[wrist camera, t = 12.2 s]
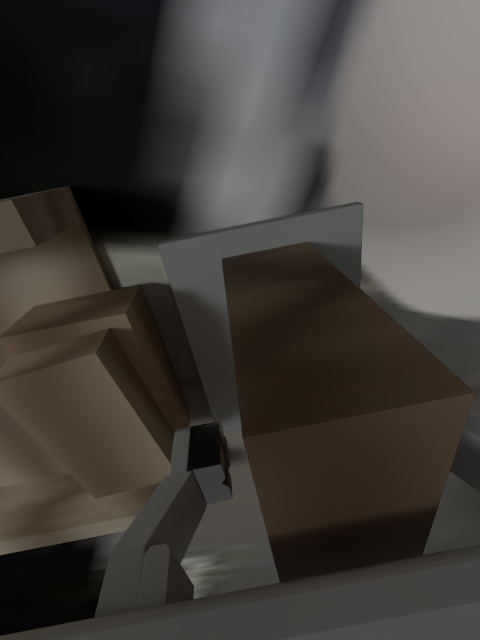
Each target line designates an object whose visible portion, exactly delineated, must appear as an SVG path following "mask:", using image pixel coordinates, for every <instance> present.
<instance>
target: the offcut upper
mask: <svg viewBox="0 0 480 640" xmlns="http://www.w3.org/2000/svg"><path fill="white" fill-rule="evenodd" d="M0 405H1V406H2V407H3V408H4V409H5V410H6V411H7V412H8V413H9V414H10V415H11V416H12V417H13V418H14V419H15V420H16V421H17V422H18V423H19V424H20V425H21V426H22V427H23V428H24V429H25V430H26V431H27V432H28V433H29V434H30V435H31V436H32V437H33V438H34V439H35V440H36V441H37V442H38V443H39V444H40V445H41V446H42V447H43V448H44V449H45V450H46V451H47V452H48V453H49V454H50V455H51V456H52V457H53V458H54V459H55V460H56V461H57V462H58V463H60V464H61V465H62V466H63V467H64V468H65V469H66V470H67V471H68V472H69V473H70V474H71V475H72V476H73V477H74V478H75V479H76V480H77V481H78V482H79V483H80V484H81V485H82V486H83V487H84V488H85V489H86V490H87V491H88V492H89V493H90V494H91V495H92V496H93V497H94V498H95V499H98V498H102V497H106V496H109V495H113V494H117V493H121V492H125V491H128V490H132V489H136V488H140V487H143V486H147V485H151V484H155V483H159V482H161V481H162V480H163V478H164V477H165V476H168V475H169V474H170V466H171V458H172V451H173V443H174V435H175V433H174V432H173V430H172V429H171V427H170V425H169V424H168V422H167V420H166V419H165V417H164V415H163V414H162V412H161V411H160V409H159V407H158V406H157V404H156V402H155V401H154V399H153V398H152V396H151V394H150V393H149V391H148V389H147V388H146V386H145V384H144V383H143V381H142V380H141V378H140V376H139V375H138V373H137V371H136V370H135V368H134V367H133V365H132V363H131V362H130V360H129V358H128V357H127V355H126V353H125V352H124V350H123V349H122V347H121V345H120V344H119V342H118V340H117V339H116V337H115V336H114V334H113V332H112V331H111V329H110V328H107V329H104V330H100V331H97V332H94V333H90V334H87V335H84V336H81V337H77V338H74V339H71V340H67V341H64V342H61V343H57V344H54V345H51V346H47V347H44V348H41V349H37V350H34V351H31V352H27V353H24V354H21V355H17V356H14V357H11V358H9V359H8V361H7V362H6V363H5V364H4V365H3V366H2V367H1V368H0Z"/></svg>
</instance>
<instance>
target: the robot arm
mask: <svg viewBox="0 0 480 640" xmlns="http://www.w3.org/2000/svg"><path fill="white" fill-rule="evenodd" d="M229 467H230V456H229V448H228V444H227V440H226V437H225V436H223V427H222V424H221V422H220V421H219V422H213V423H207V424H201V425H196V426H191V427H185V428H179V429H176V432H175V435H174V443H173V451H172V458H171V466H170V474H169V475H168V476H165V477H164V478H163V480H162V481H161V482H160V484H159V485H158V487H157V488H156V489H155V491H154V492H153V494H152V495H151V496H150V498H149V499H148V501H147V502H146V503H145V505H144V506H143V508H142V509H141V510H140V512H139V513H138V515H137V516H136V517H135V519H134V520H133V522H132V523H131V525H130V526H129V527H128V529H127V530H126V532H125V533H124V534H123V536H122V537H121V539H120V540H119V541H118V543H117V544H116V546H115V547H114V548H113V550H112V551H111V553H110V557H109V561H108V565H107V569H106V573H105V577H104V581H103V585H102V589H101V593H100V597H99V601H98V605H97V609H96V613H95V617H94V618H92V619H87V620H82V621H76V622H71V623H66V624H61V625H55V626H50V627H45V628H40V629H34V630H29V631H24V632H19V633H13V634H8V635H3V636H0V640H480V545H475V546H470V547H465V548H460V549H454V550H449V551H444V552H438V553H433V554H428V555H423V556H417V557H412V558H407V559H402V560H396V561H391V562H386V563H381V564H375V565H370V566H365V567H360V568H354V569H349V570H344V571H339V572H333V573H328V574H323V575H318V576H312V577H307V578H302V579H297V580H291V581H286V582H281V583H276V584H270V585H265V586H260V587H255V588H249V589H244V590H239V591H234V592H228V593H223V594H218V595H213V596H207V597H202V598H197V599H194V585H193V584H192V582H191V581H190V579H189V577H188V576H187V574H186V573H185V571H184V569H183V568H182V566H181V565H180V563H181V561H182V559H183V557H184V555H185V553H186V550H187V548H188V546H189V544H190V542H191V540H192V538H193V535H194V533H195V531H196V529H197V527H198V525H199V522H200V520H201V518H202V516H203V514H204V512H205V509H206V507H207V504H211V503H216V502H220V501H225V500H229V499H232V483H231V476H230V473H229ZM450 471H451V472H452V473H453V474H455V475H456V476H458V477H459V478H461V479H462V480H463V481H465V482H466V483H468V484H469V485H471V486H472V487H474V488H475V489H476V490H478V491H479V492H480V418H477V417H475V416H473V417H469V416H467V419H466V422H465V425H464V428H463V431H462V435H461V438H460V441H459V444H458V447H457V450H456V453H455V456H454V459H453V462H452V465H451V468H450Z"/></svg>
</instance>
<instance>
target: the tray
mask: <svg viewBox="0 0 480 640" xmlns="http://www.w3.org/2000/svg"><path fill="white" fill-rule="evenodd" d="M111 290H114V289H113V287H112V285H111V282H110V280H109V278H108V275H107V273H106V271H105V268H104V266H103V264H102V262H101V259H100V257H99V255H98V252H97V250H96V248H95V245H94V243H93V241H92V238H91V236H90V234H89V231H88V229H87V227H86V225H85V222H84V220H83V218H82V215H81V213H80V211H79V208H78V206H77V204H76V201H75V199H74V197H73V194H72V192H71V190H70V188H69V186H66V187H61V188H56V189H52V190H47V191H42V192H37V193H32V194H27V195H22V196H17V197H12V198H7V199H2V200H0V336H1V335H2V334H3V333H4V332H5V331H6V330H7V329H9V328H10V327H11V326H12V325H13V324H14V323H15V322H16V321H18V320H19V319H20V318H21V317H22V316H23V315H24V314H26V313H27V312H28V311H29V310H30V309H31V308H32V307H34V306H36V305H41V304H46V303H51V302H56V301H61V300H66V299H71V298H76V297H81V296H86V295H91V294H96V293H101V292H106V291H111ZM9 358H10V357H9V355H8V354H7V353H6V351H5V350H4V348H3V347H2V346H1V344H0V368H1V367H2V366H3V365H4V364H5V363H6V362H7V361H8V359H9ZM159 484H160V482H159V483H155V484H151V485H147V486H143V487H140V488H136V489H132V490H128V491H125V492H121V493H117V494H113V495H109V496H106V497H102V498H98V499H95V498H94V497H93V496H92V495H91V494H90V493H89V492H88V491H87V490H86V489H85V488H84V487H83V486H82V485H81V484H80V483H79V482H78V481H77V480H76V479H75V478H74V477H73V476H72V475H71V474H70V473H69V472H68V471H67V470H66V469H65V468H64V467H63V466H62V465H61V464H60V463H58V462H57V461H56V460H55V459H54V458H53V457H52V456H51V455H50V454H49V453H48V452H47V451H46V450H45V449H44V448H43V447H42V446H41V445H40V444H39V443H38V442H37V441H36V440H35V439H34V438H33V437H32V436H31V435H30V434H29V433H28V432H27V431H26V430H25V429H24V428H23V427H22V426H21V425H20V424H19V423H18V422H17V421H16V420H15V419H14V418H13V417H12V416H11V415H10V414H9V413H8V412H7V411H6V410H5V409H4V408H3V407H2V406H1V405H0V555H2V554H8V553H13V552H18V551H23V550H28V549H33V548H39V547H44V546H49V545H54V544H59V543H64V542H70V541H75V540H80V539H85V538H90V537H95V536H101V535H106V534H111V533H116V532H121V531H126V530H127V529H128V527H129V526H130V525H131V523H132V522H133V520H134V519H135V517H136V516H137V515H138V513H139V512H140V510H141V509H142V508H143V506H144V505H145V503H146V502H147V501H148V499H149V498H150V496H151V495H152V494H153V492H154V491H155V489H156V488H157V487H158V485H159Z"/></svg>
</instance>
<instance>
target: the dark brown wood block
mask: <svg viewBox="0 0 480 640" xmlns="http://www.w3.org/2000/svg"><path fill="white" fill-rule="evenodd" d="M222 268H223V276H224V284H225V293H226V301H227V310H228V318H229V327H230V335H231V344H232V352H233V360H234V369H235V377H236V386H237V394H238V403H239V411H240V420H241V428H242V436H243V441H244V445H245V449H246V453H247V457H248V461H249V464H250V468H251V472H252V476H253V480H254V484H255V488H256V492H257V495H258V499H259V503H260V507H261V511H262V515H263V519H264V522H265V526H266V530H267V534H268V538H269V542H270V546H271V550H272V553H273V557H274V561H275V565H276V569H277V573H278V577H279V581H280V583H281V582H286V581H291V580H297V579H302V578H307V577H312V576H318V575H323V574H328V573H333V572H339V571H344V570H349V569H354V568H360V567H365V566H370V565H375V564H381V563H386V562H391V561H396V560H402V559H407V558H412V557H417V556H422V555H423V552H424V548H425V545H426V542H427V539H428V536H429V533H430V530H431V527H432V524H433V521H434V518H435V515H436V512H437V508H438V505H439V502H440V499H441V496H442V493H443V490H444V487H445V484H446V481H447V478H448V475H449V471H450V468H451V465H452V462H453V459H454V456H455V453H456V450H457V447H458V444H459V441H460V438H461V435H462V431H463V428H464V425H465V422H466V419H467V416H468V413H469V410H470V407H471V404H472V401H473V398H474V394H475V392H473V391H472V390H471V389H470V388H469V387H468V386H467V385H466V384H465V383H464V382H462V381H461V380H460V379H459V378H458V377H457V376H456V375H455V374H454V373H452V372H451V371H450V370H449V369H448V368H447V367H446V366H445V365H444V364H442V363H441V362H440V361H439V360H438V359H437V358H436V357H435V356H434V355H433V354H431V353H430V352H429V351H428V350H427V349H426V348H425V347H424V346H423V345H421V344H420V343H419V342H418V341H417V340H416V339H415V338H414V337H413V336H411V335H410V334H409V333H408V332H407V331H406V330H405V329H404V328H403V327H402V326H400V325H399V324H398V323H397V322H396V321H395V320H394V319H393V318H392V317H390V316H389V315H388V314H387V313H386V312H385V311H384V310H383V309H382V308H381V307H379V306H378V305H377V304H376V303H375V302H374V301H373V300H372V299H371V298H369V297H368V296H367V295H366V294H365V293H364V292H363V291H362V290H361V289H359V288H358V287H357V286H356V285H355V284H354V283H353V282H352V281H351V280H350V279H348V278H347V277H346V276H345V275H344V274H343V273H342V272H341V271H340V270H338V269H337V268H336V267H335V266H334V265H333V264H332V263H331V262H330V261H328V260H327V259H326V258H325V257H324V256H323V255H322V254H321V253H320V252H319V251H317V250H316V249H315V248H314V247H313V246H312V245H311V244H310V243H309V242H302V243H297V244H292V245H287V246H282V247H277V248H272V249H267V250H262V251H257V252H252V253H247V254H242V255H237V256H232V257H227V258H222Z"/></svg>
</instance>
